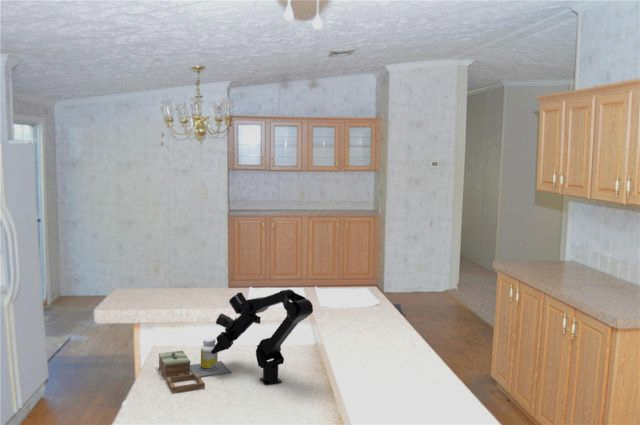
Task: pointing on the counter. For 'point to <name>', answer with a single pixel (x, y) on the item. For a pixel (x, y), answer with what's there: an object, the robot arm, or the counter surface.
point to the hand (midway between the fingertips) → (215, 349)
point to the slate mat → (202, 373)
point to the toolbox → (178, 372)
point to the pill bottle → (208, 355)
